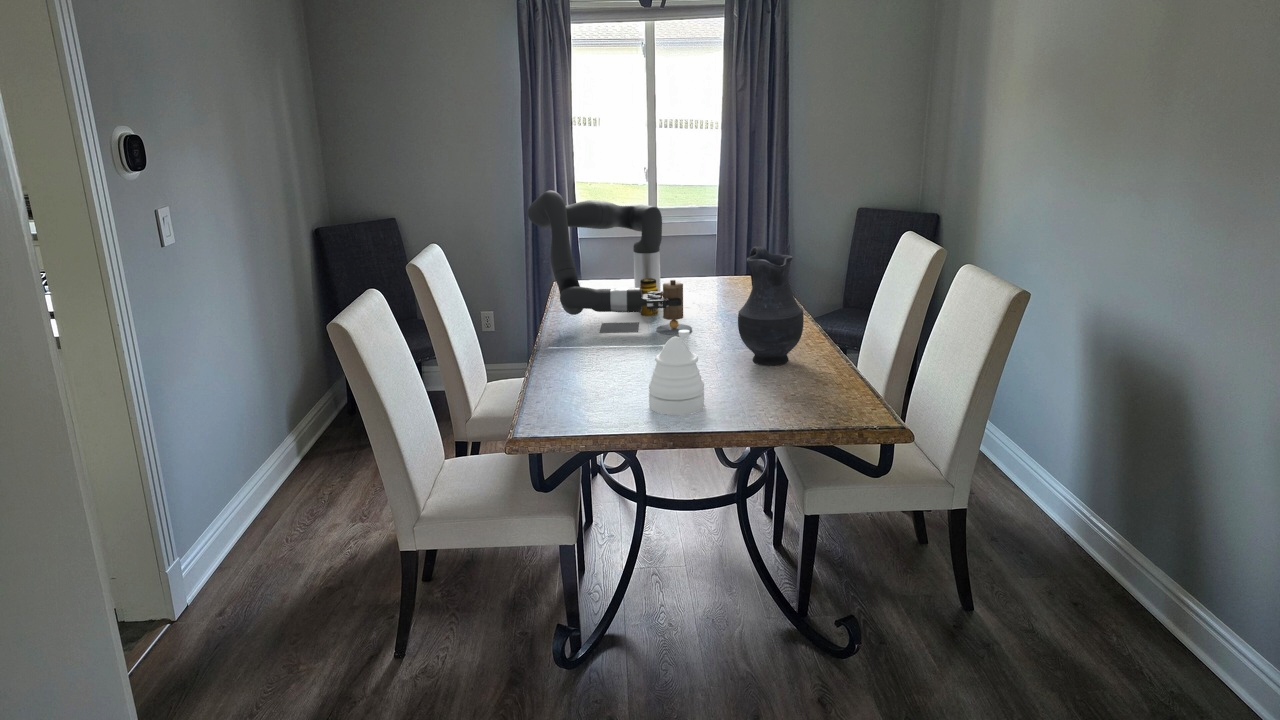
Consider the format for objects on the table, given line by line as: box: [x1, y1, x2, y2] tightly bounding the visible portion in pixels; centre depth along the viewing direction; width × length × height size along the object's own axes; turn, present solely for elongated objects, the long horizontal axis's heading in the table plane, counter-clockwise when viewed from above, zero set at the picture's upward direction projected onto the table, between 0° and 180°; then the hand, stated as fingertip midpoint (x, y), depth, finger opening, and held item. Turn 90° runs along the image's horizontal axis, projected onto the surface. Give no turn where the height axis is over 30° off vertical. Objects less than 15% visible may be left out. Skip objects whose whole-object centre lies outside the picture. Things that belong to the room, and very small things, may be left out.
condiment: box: [639, 278, 659, 317], centre depth 279 cm, size 7×8×12 cm
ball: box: [668, 320, 680, 329], centre depth 260 cm, size 3×3×3 cm
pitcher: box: [737, 245, 805, 367], centre depth 225 cm, size 17×21×30 cm
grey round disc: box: [655, 323, 693, 336], centre depth 260 cm, size 11×11×1 cm
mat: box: [598, 321, 640, 334], centre depth 265 cm, size 12×12×1 cm
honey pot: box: [648, 330, 705, 416], centre depth 195 cm, size 13×13×18 cm
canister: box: [662, 279, 684, 321], centre depth 257 cm, size 6×6×12 cm
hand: (680, 299), depth 257 cm, fingers closed on canister, 6 cm apart
